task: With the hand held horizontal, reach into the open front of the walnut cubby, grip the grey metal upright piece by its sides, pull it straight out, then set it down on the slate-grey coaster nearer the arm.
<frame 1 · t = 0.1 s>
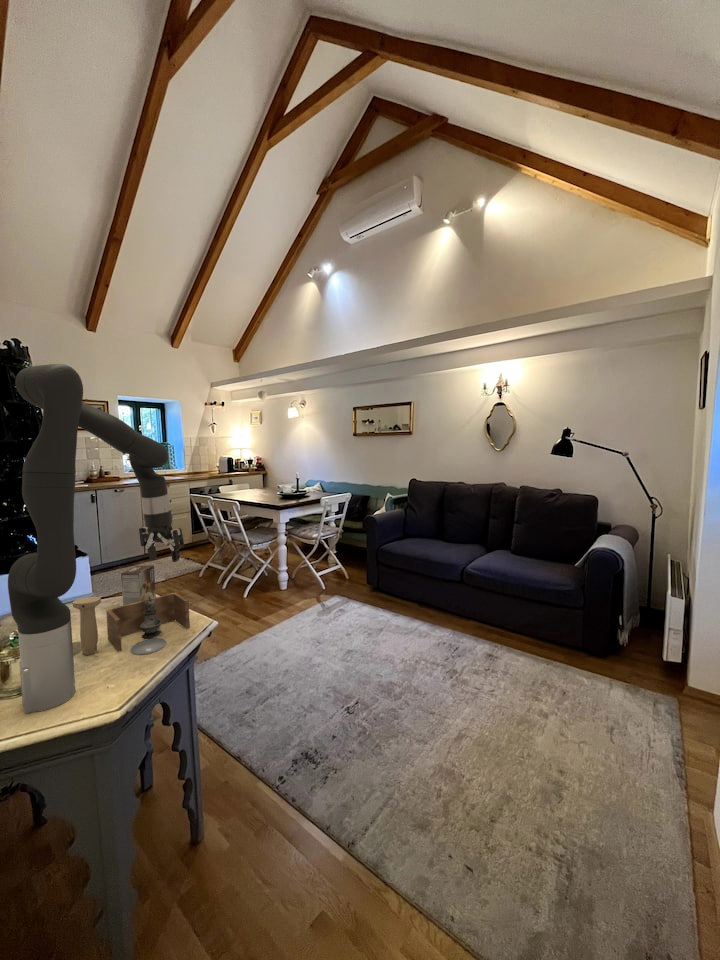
hand: (164, 560, 121), 22 cm above the table, tool pointing down, fingers open, 8 cm apart
coffee box: (140, 615, 134), on the table
walnut cubby: (150, 633, 120), on the table
grey metal upright piece: (151, 635, 119), on the table
coaster: (148, 646, 112), on the table
turned wooden grip: (90, 653, 109), on the table
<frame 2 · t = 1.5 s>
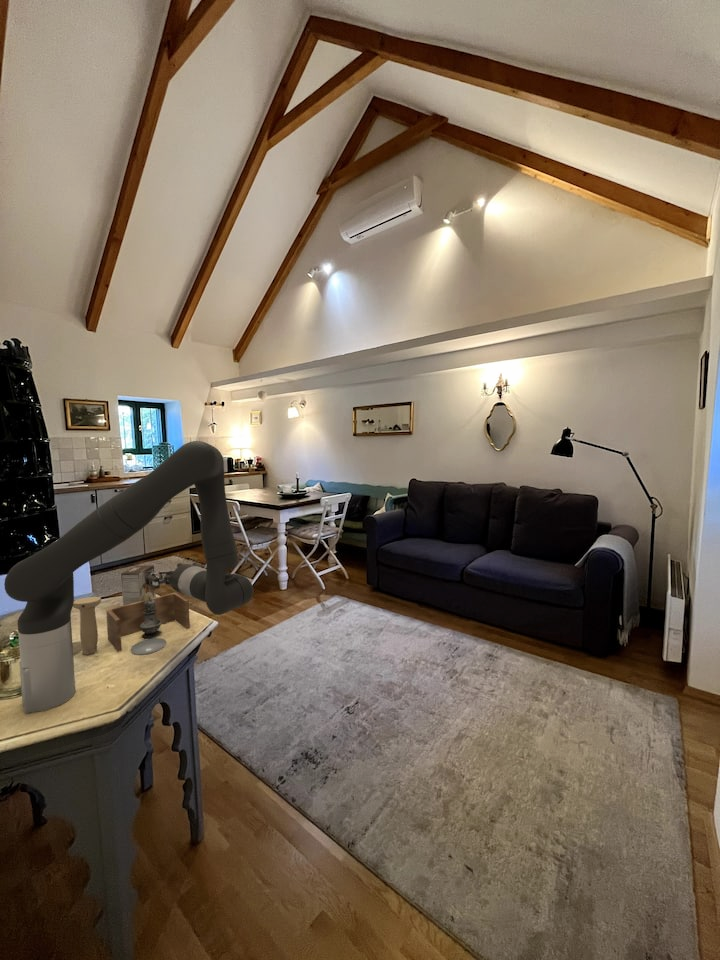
hand: (163, 570, 111), 22 cm above the table, tool horizontal, fingers open, 8 cm apart
nothing on the table moved.
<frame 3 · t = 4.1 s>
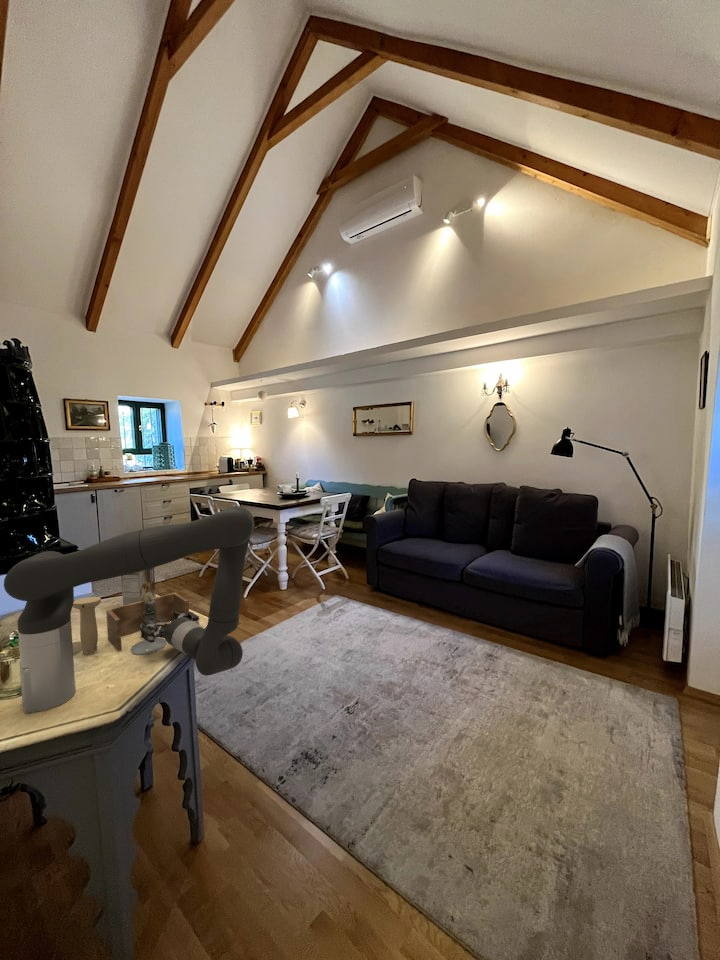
hand: (159, 619, 115), 7 cm above the table, tool horizontal, fingers open, 8 cm apart
nothing on the table moved.
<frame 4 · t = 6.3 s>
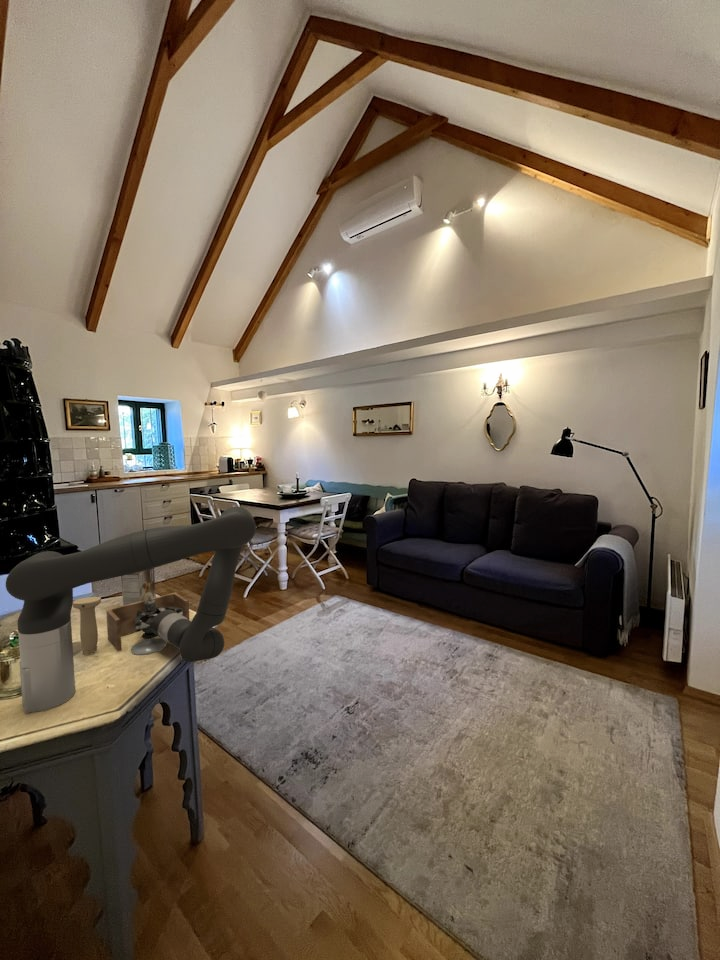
hand: (146, 611, 121), 7 cm above the table, tool horizontal, fingers closed on grey metal upright piece, 3 cm apart
grey metal upright piece: (151, 635, 119), on the table, touching gripper
everything else where it was.
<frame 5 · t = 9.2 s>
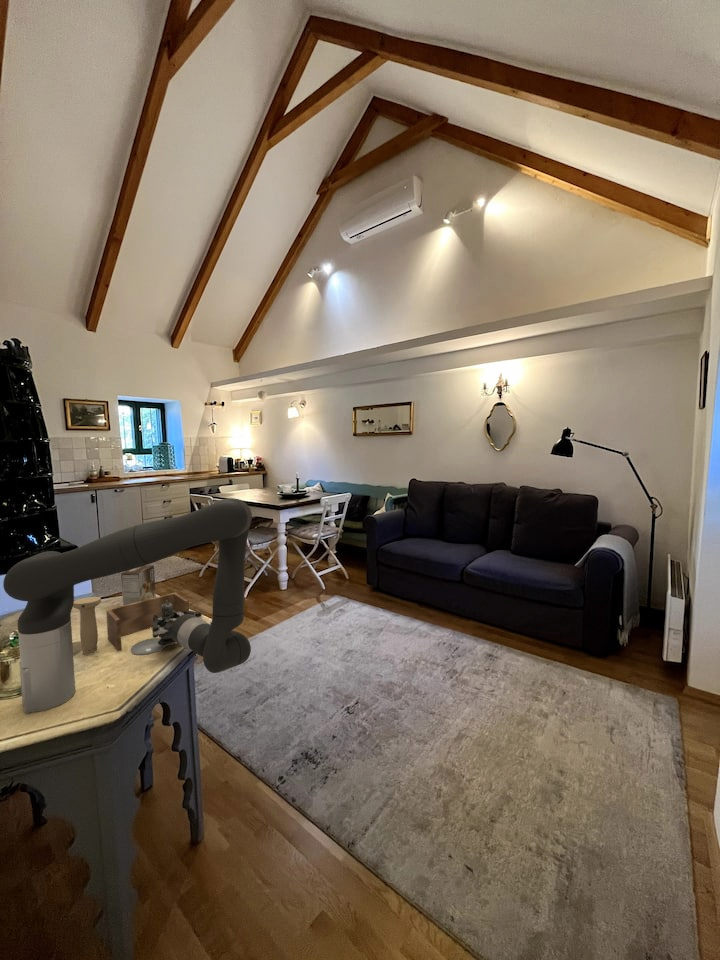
hand: (162, 615, 113), 9 cm above the table, tool horizontal, fingers closed on grey metal upright piece, 3 cm apart
grey metal upright piece: (168, 641, 111), point 2 cm above the table, touching gripper
everything else where it was.
when the fingers open (8 cm above the table, at t = 12.4 s): grey metal upright piece stays where it is, resting on coaster.
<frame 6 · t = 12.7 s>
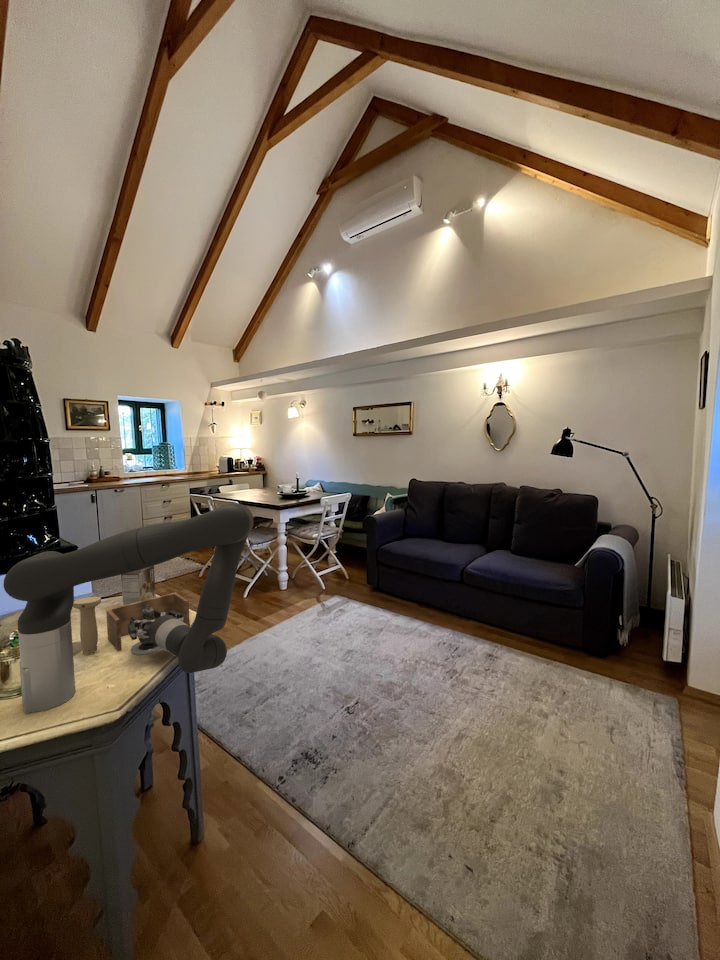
hand: (143, 616, 113), 8 cm above the table, tool horizontal, fingers open, 5 cm apart
grey metal upright piece: (149, 646, 112), resting on coaster
everything else where it was.
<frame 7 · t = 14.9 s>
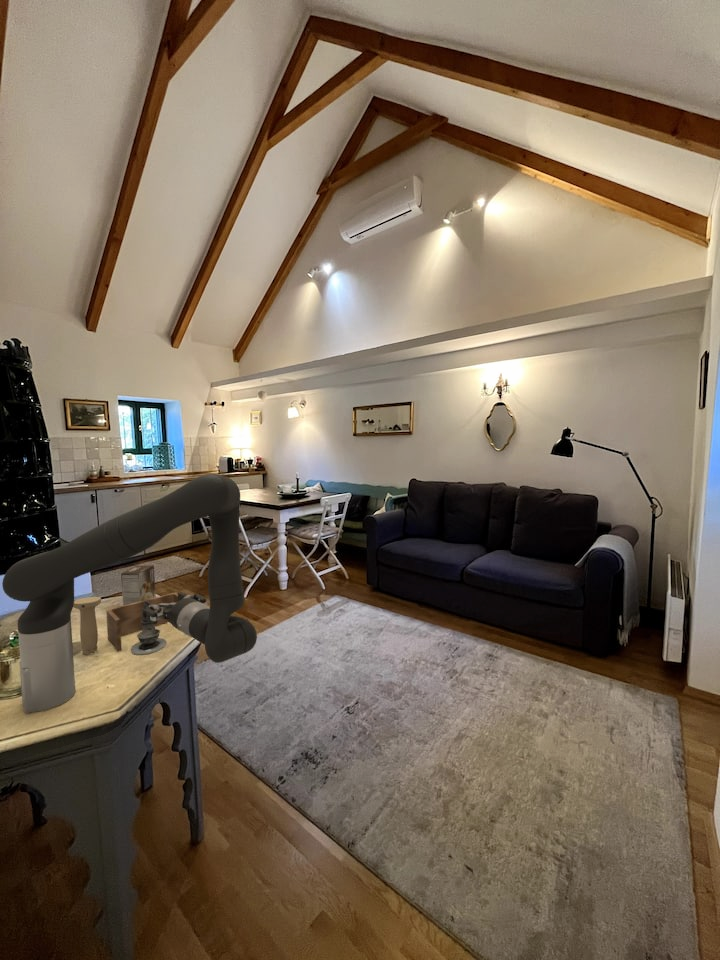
hand: (163, 600, 104), 16 cm above the table, tool horizontal, fingers open, 8 cm apart
nothing on the table moved.
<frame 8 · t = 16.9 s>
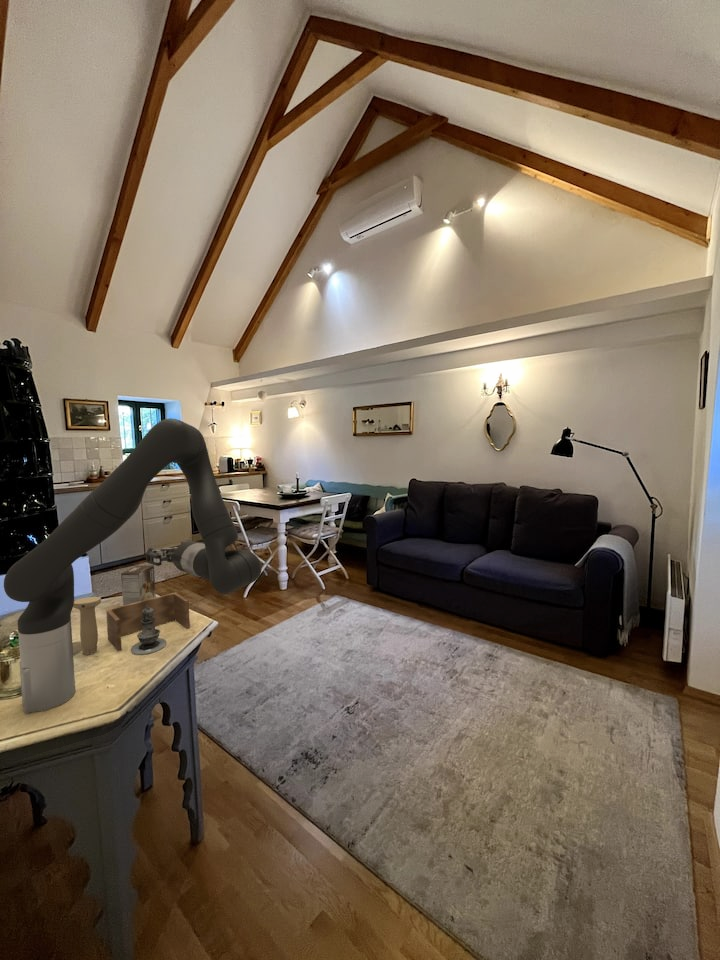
hand: (166, 548, 104), 30 cm above the table, tool horizontal, fingers open, 8 cm apart
nothing on the table moved.
at the end: grey metal upright piece 0.2 cm from the coaster (horizontally); grey metal upright piece tilted 0°; the gripper is holding nothing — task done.
